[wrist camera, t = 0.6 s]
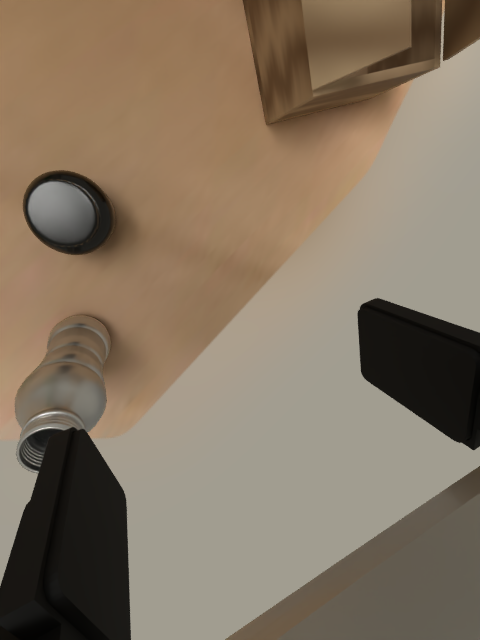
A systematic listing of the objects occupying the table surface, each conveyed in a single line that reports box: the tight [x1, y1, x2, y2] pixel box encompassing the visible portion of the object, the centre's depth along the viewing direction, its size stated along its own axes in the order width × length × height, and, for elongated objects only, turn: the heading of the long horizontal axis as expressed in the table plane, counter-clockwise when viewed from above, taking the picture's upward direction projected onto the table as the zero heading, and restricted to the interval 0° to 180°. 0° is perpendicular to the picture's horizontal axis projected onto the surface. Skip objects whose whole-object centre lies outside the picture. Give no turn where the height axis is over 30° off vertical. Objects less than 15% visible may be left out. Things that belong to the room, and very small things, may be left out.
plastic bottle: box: [15, 315, 111, 473], centre depth 27 cm, size 6×7×20 cm
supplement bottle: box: [23, 170, 116, 255], centre depth 27 cm, size 7×7×12 cm
